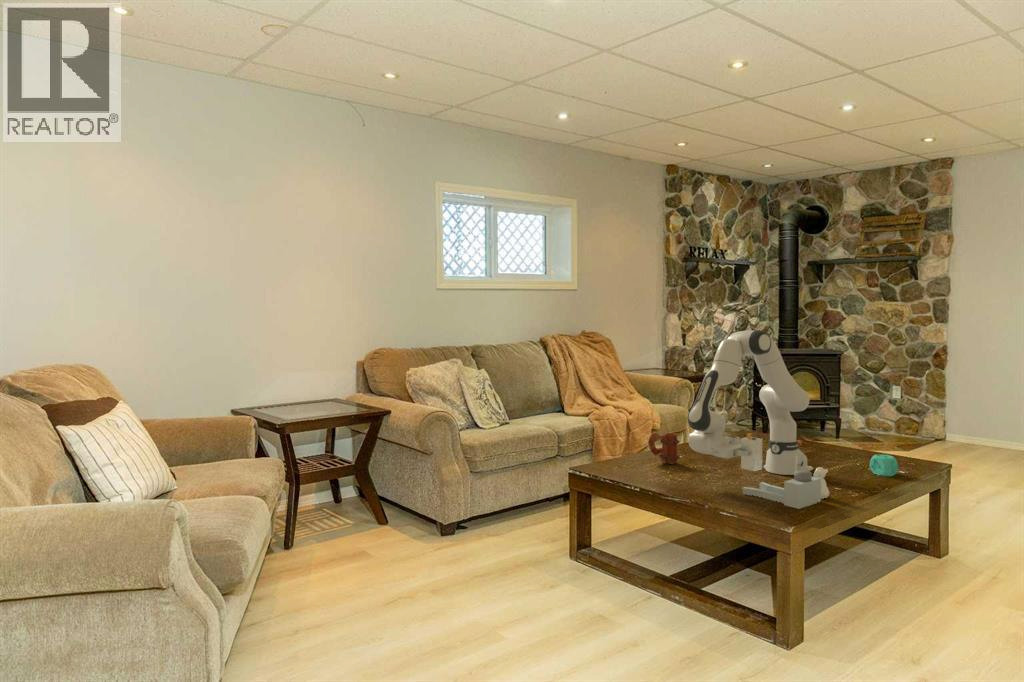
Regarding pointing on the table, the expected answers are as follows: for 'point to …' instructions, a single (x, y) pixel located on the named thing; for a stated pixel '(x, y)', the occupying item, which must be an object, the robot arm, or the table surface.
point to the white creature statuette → (822, 481)
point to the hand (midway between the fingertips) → (753, 452)
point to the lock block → (751, 453)
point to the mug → (665, 447)
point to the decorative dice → (883, 465)
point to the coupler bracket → (791, 490)
